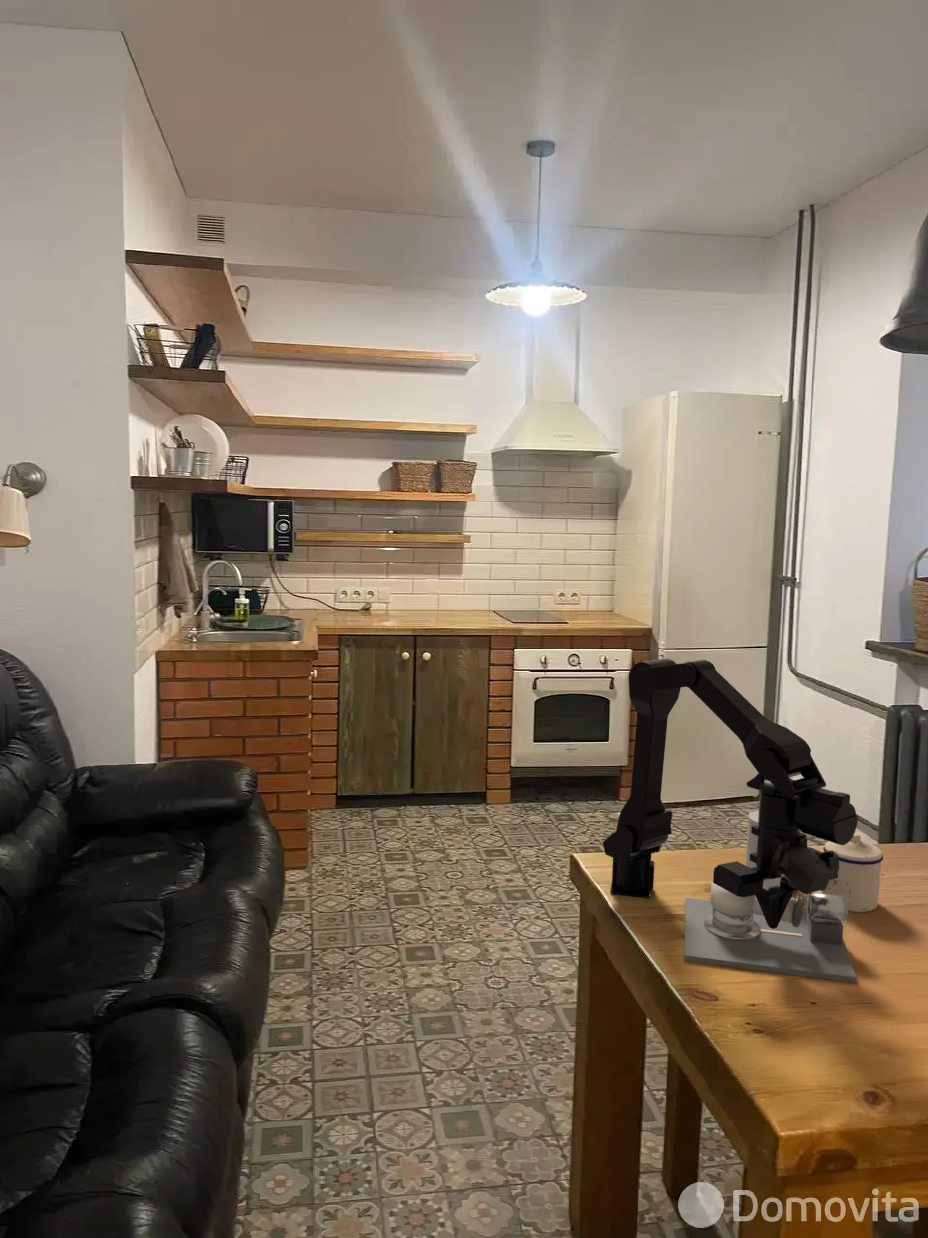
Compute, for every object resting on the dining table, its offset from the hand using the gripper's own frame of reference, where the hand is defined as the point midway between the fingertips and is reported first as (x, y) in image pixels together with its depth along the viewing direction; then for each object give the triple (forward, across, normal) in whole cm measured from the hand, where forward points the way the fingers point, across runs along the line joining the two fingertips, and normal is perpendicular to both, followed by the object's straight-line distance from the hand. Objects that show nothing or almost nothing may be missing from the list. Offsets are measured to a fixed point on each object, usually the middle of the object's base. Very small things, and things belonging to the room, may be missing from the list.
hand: (772, 927), depth 134 cm
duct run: (+4, +10, -1) cm, 11 cm away
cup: (+4, +18, +19) cm, 26 cm away
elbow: (0, +1, +5) cm, 5 cm away
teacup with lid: (+4, +24, +9) cm, 26 cm away
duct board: (+4, +2, +4) cm, 6 cm away
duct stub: (+4, 0, +8) cm, 9 cm away
